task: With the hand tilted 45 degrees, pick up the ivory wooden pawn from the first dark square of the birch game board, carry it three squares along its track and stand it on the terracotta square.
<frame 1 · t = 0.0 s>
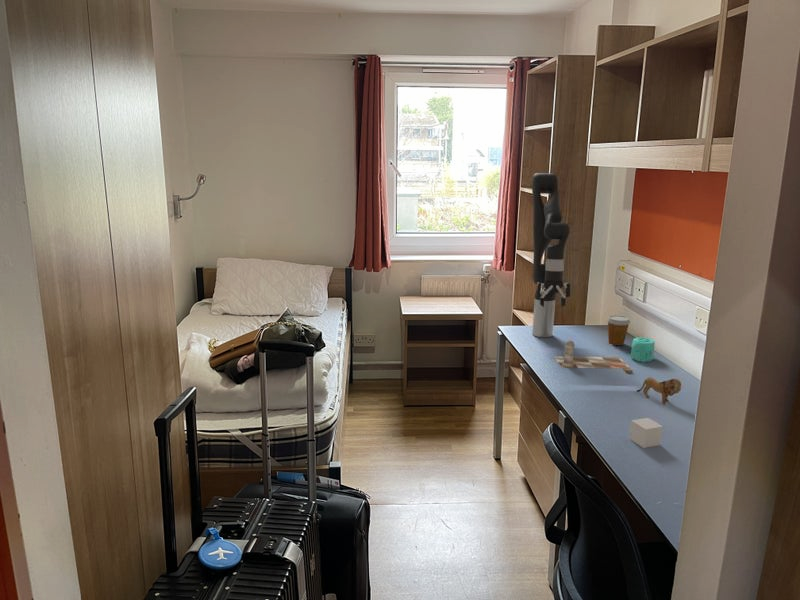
hand: (552, 306, 255), 17 cm above the table, tool pointing down, fingers open, 8 cm apart
board: (590, 365, 234), on the table
beige cube: (644, 442, 173), on the table
lion figurine: (658, 399, 203), on the table
decorative dice: (641, 359, 242), on the table
disposable coffee cup: (616, 344, 261), on the table
pawn: (567, 364, 230), point 1 cm above the table, touching board
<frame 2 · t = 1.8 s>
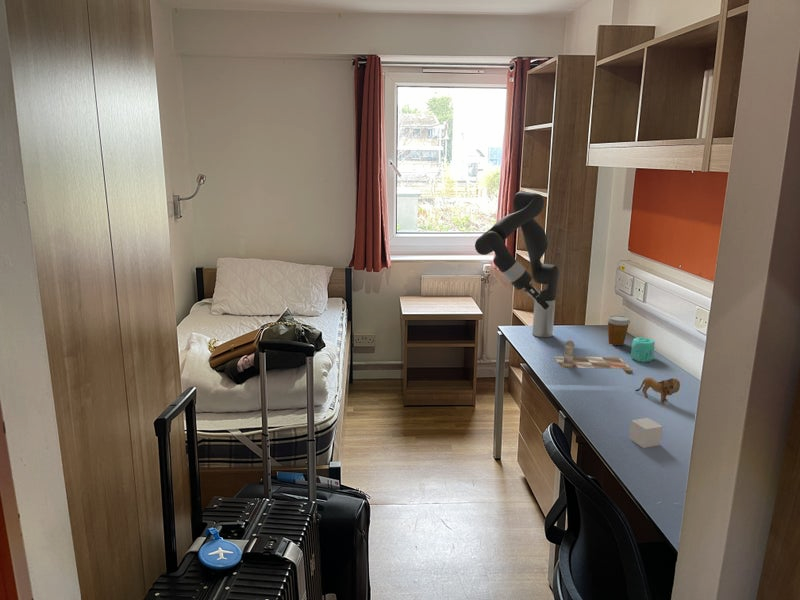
hand: (544, 305, 224), 25 cm above the table, tool tilted 45°, fingers open, 8 cm apart
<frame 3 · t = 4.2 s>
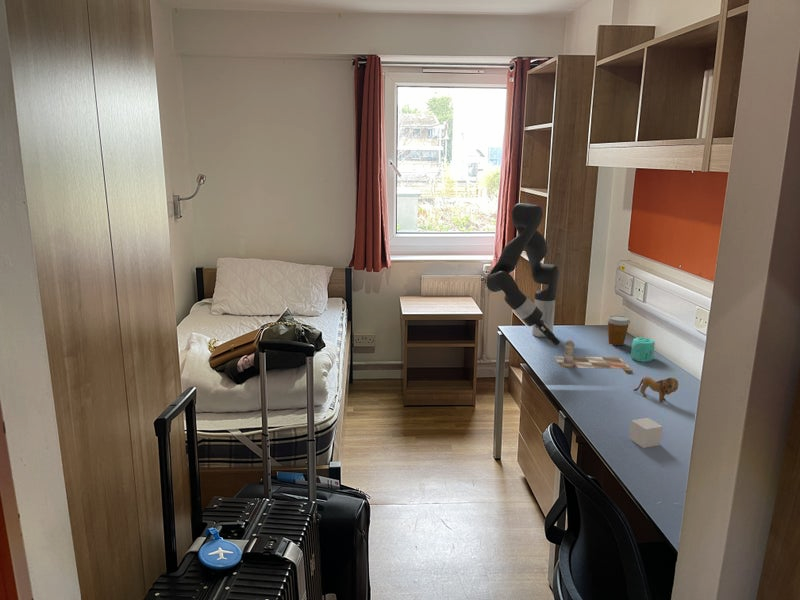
hand: (555, 340, 228), 11 cm above the table, tool tilted 45°, fingers open, 8 cm apart
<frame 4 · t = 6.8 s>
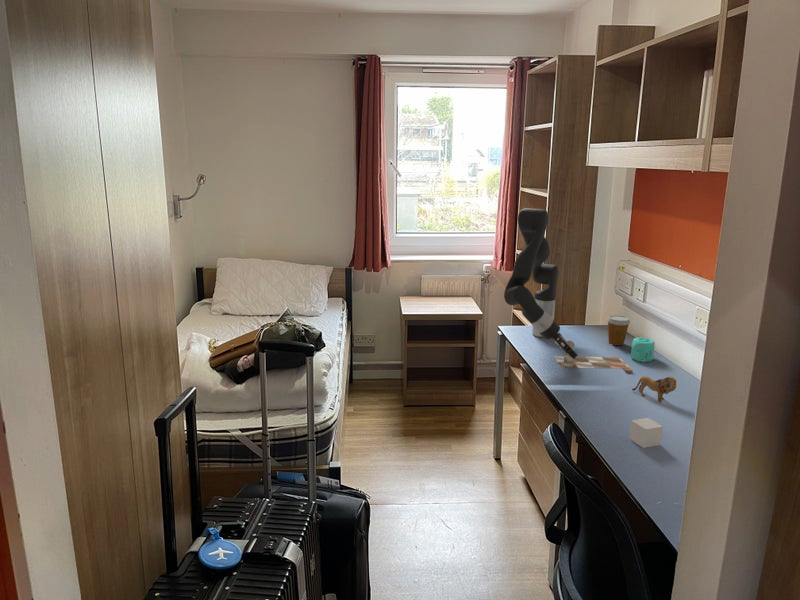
hand: (573, 355, 229), 5 cm above the table, tool tilted 45°, fingers closed on pawn, 3 cm apart
pawn: (567, 364, 230), point 1 cm above the table, touching board, gripper
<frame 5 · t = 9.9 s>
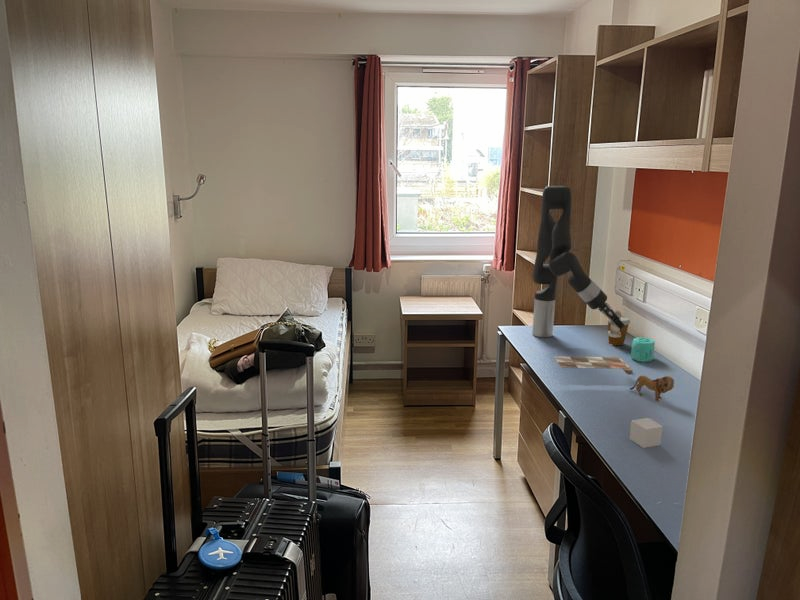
hand: (620, 325, 226), 18 cm above the table, tool tilted 45°, fingers closed on pawn, 3 cm apart
pawn: (614, 335, 227), point 14 cm above the table, touching gripper
when the fingers open (7 cm above the table, at t = 13.0 s): pawn drops 1 cm, resting on board.
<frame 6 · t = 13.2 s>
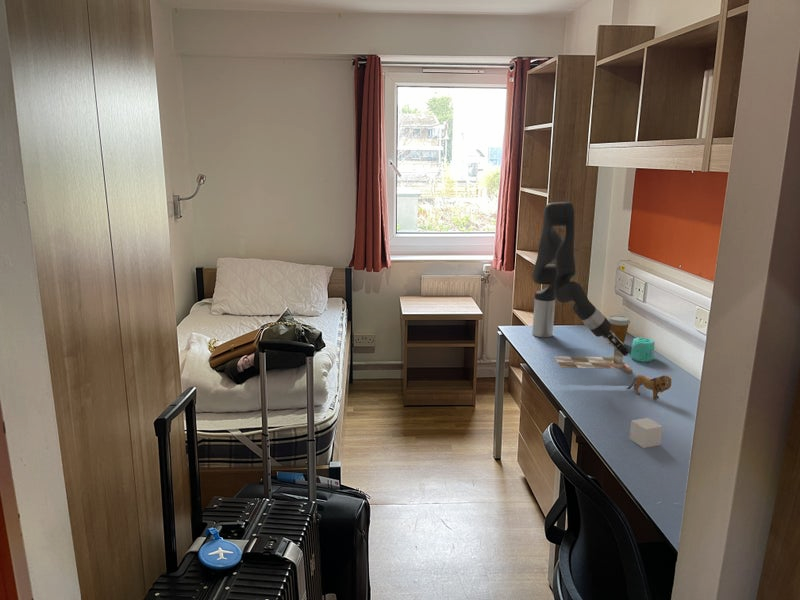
hand: (623, 351, 229), 7 cm above the table, tool tilted 45°, fingers open, 5 cm apart
pawn: (617, 365, 230), point 1 cm above the table, touching board
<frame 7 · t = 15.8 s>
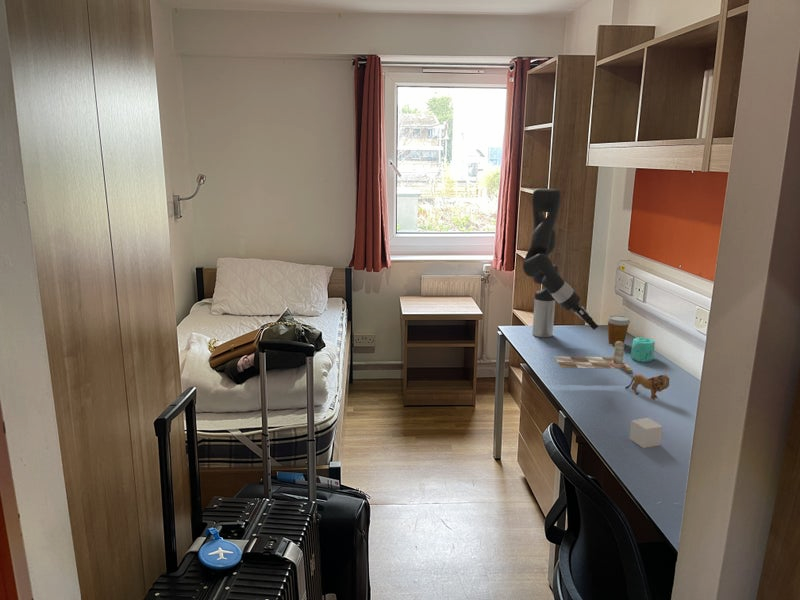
hand: (592, 324, 226), 18 cm above the table, tool tilted 45°, fingers open, 8 cm apart
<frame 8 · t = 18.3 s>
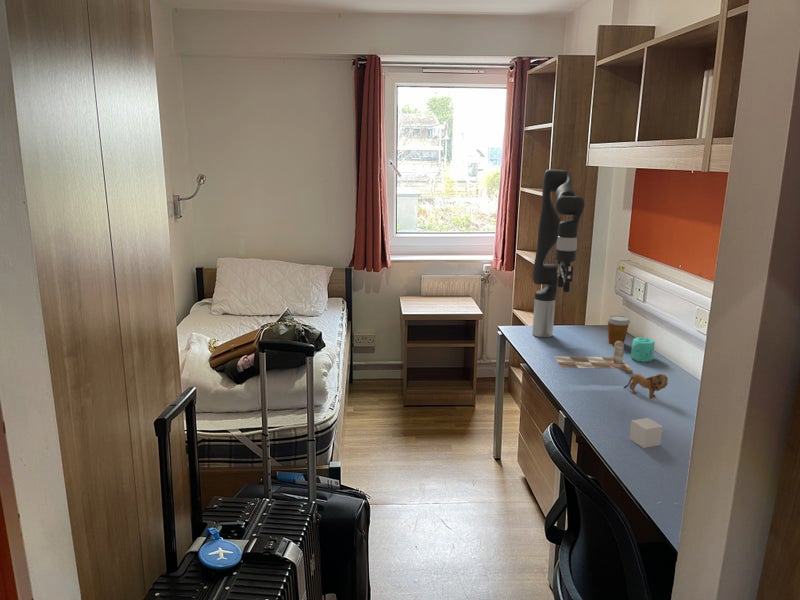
hand: (563, 289, 230), 30 cm above the table, tool pointing down, fingers open, 8 cm apart
at the end: pawn 0.1 cm from the target spot on the board, point 1.4 cm above the board's base; pawn tilted 1°; the gripper is holding nothing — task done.
